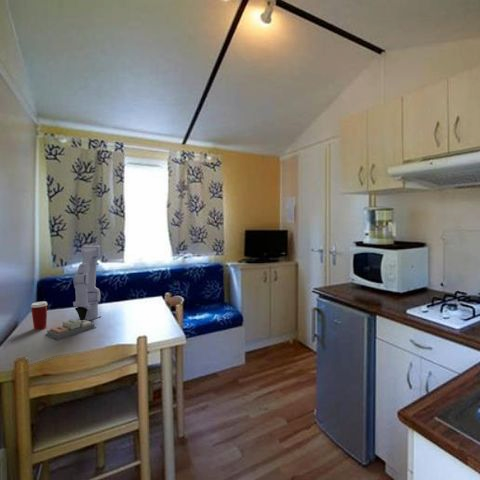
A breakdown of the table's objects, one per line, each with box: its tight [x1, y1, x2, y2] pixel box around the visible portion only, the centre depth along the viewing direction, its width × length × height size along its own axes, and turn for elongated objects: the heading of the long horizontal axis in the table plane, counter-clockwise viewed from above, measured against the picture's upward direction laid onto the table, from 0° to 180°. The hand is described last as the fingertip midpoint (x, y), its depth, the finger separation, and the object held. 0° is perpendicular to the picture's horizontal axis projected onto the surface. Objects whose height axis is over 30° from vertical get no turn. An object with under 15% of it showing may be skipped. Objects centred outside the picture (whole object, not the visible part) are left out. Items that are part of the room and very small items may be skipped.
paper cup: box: [30, 301, 48, 331], centre depth 158 cm, size 8×8×14 cm
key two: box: [62, 319, 80, 329], centre depth 153 cm, size 9×4×3 cm, turn 58°
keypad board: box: [44, 322, 97, 341], centre depth 154 cm, size 13×20×2 cm, turn 148°
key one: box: [76, 319, 92, 327], centre depth 159 cm, size 9×4×3 cm, turn 58°
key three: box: [49, 325, 69, 334], centre depth 149 cm, size 9×4×3 cm, turn 58°
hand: (82, 319), depth 159 cm, fingers closed
